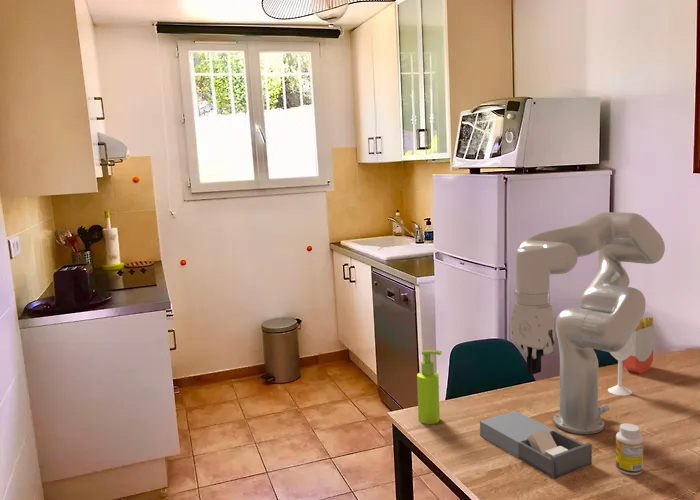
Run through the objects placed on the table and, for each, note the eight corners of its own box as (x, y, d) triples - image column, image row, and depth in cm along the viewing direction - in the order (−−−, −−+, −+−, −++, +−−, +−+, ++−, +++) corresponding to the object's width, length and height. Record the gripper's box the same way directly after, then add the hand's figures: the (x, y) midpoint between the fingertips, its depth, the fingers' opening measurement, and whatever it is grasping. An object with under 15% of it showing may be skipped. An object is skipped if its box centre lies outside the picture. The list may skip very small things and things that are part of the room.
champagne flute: (607, 394, 172) (609, 316, 168) (607, 386, 178) (608, 310, 175) (632, 396, 169) (634, 317, 166) (631, 388, 175) (632, 312, 172)
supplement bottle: (619, 461, 133) (620, 419, 132) (645, 468, 130) (646, 425, 128) (612, 471, 129) (612, 428, 128) (639, 478, 126) (639, 434, 124)
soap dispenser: (442, 424, 157) (441, 354, 154) (417, 423, 158) (415, 353, 155) (443, 415, 162) (441, 347, 160) (419, 414, 164) (417, 347, 161)
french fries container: (621, 371, 189) (622, 319, 187) (639, 364, 195) (640, 313, 193) (635, 375, 185) (636, 321, 183) (653, 367, 191) (654, 315, 189)
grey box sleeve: (514, 424, 155) (514, 410, 154) (554, 445, 142) (554, 430, 142) (480, 435, 149) (479, 421, 149) (518, 458, 137) (518, 442, 136)
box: (554, 445, 142) (554, 426, 142) (591, 464, 133) (591, 443, 132) (518, 458, 137) (518, 438, 136) (553, 478, 127) (553, 457, 127)
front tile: (577, 454, 131) (577, 464, 132) (560, 445, 136) (560, 455, 136) (561, 460, 129) (561, 470, 129) (544, 451, 133) (544, 461, 134)
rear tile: (542, 432, 140) (548, 429, 138) (552, 452, 138) (558, 449, 136) (526, 437, 138) (532, 434, 136) (537, 457, 135) (542, 454, 134)
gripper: (498, 295, 140) (500, 367, 143) (547, 306, 127) (548, 385, 130) (520, 290, 144) (521, 360, 146) (569, 301, 131) (570, 377, 134)
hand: (534, 372), depth 138 cm, fingers closed
